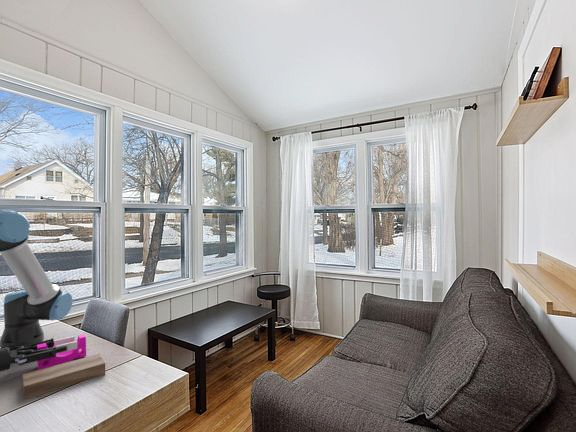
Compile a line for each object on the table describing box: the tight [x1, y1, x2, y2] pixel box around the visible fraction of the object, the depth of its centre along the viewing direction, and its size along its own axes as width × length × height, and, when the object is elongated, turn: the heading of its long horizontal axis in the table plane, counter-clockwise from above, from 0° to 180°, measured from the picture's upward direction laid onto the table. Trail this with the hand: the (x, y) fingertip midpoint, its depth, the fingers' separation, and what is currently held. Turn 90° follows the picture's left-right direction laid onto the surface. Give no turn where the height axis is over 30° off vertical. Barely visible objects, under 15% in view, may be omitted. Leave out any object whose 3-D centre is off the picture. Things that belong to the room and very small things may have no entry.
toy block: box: [36, 333, 87, 370], centre depth 120 cm, size 15×6×8 cm, turn 132°
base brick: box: [22, 353, 106, 400], centre depth 107 cm, size 10×22×4 cm, turn 132°
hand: (75, 342), depth 122 cm, fingers closed on toy block, 6 cm apart
